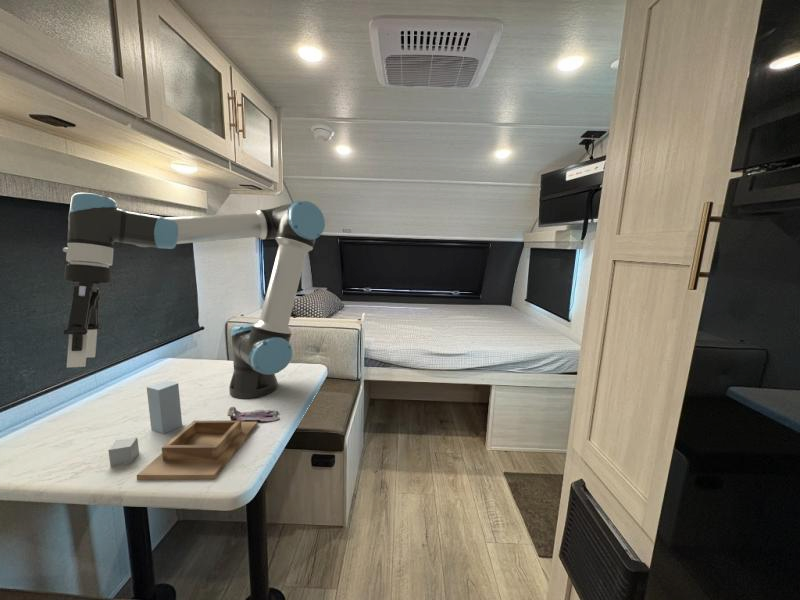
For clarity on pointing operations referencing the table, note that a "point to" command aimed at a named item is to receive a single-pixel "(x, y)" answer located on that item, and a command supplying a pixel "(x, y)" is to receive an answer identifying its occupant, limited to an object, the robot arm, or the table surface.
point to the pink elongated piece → (253, 415)
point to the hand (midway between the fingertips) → (82, 361)
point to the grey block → (123, 451)
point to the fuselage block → (164, 406)
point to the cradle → (199, 450)
